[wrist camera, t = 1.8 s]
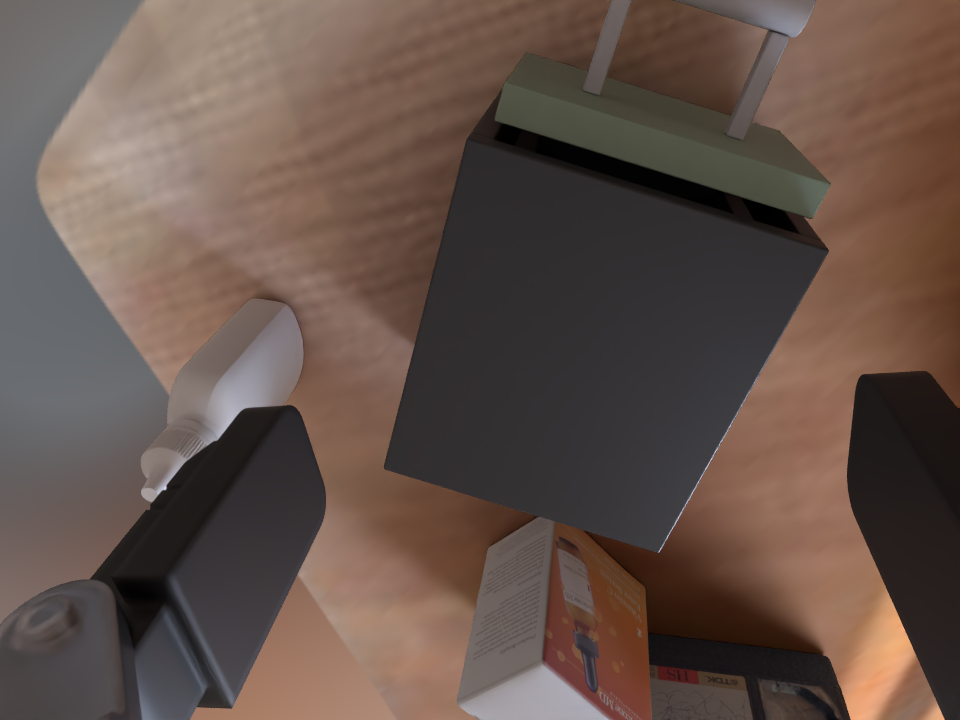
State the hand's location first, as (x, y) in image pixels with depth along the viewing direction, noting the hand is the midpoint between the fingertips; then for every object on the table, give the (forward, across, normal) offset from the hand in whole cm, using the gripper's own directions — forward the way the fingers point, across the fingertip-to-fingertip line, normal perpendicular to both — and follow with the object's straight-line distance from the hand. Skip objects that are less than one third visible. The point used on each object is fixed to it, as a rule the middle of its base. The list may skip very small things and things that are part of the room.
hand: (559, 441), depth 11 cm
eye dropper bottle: (+23, +17, +9) cm, 30 cm away
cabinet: (+22, +1, +7) cm, 23 cm away
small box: (+23, +3, +25) cm, 34 cm away
